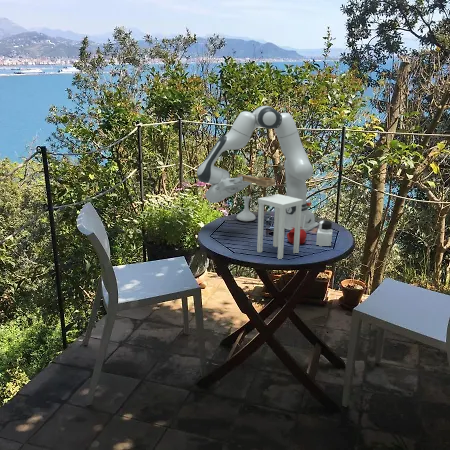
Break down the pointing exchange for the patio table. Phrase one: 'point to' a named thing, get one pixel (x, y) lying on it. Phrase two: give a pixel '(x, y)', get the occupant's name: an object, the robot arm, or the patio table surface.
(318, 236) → the medicine bottle
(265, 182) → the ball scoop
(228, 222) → the patio table surface
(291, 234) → the pomegranate
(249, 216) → the flower in vase
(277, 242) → the tall stand
